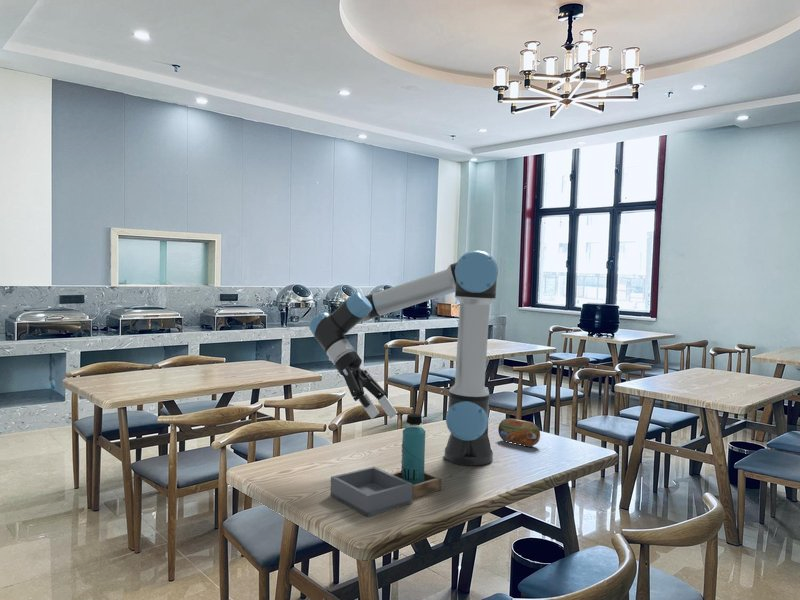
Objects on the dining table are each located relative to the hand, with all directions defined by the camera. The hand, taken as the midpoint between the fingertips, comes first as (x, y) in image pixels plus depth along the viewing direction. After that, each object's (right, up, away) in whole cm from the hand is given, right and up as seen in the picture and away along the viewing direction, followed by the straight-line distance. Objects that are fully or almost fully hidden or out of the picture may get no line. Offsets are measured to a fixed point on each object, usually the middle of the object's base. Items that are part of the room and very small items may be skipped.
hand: (385, 416), depth 165 cm
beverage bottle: (+8, -18, -8) cm, 21 cm away
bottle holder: (+8, -18, -8) cm, 21 cm away
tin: (+45, -17, +36) cm, 60 cm away
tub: (-3, -18, -17) cm, 25 cm away
